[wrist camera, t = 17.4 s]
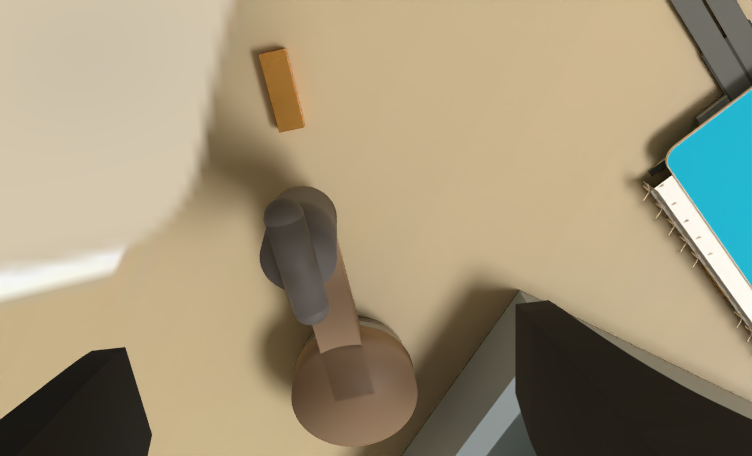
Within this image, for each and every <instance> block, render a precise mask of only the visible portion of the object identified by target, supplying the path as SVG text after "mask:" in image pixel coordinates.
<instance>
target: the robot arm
mask: <svg viewBox="0 0 752 456" xmlns="http://www.w3.org/2000/svg"><path fill="white" fill-rule="evenodd" d="M515 394H516V397H517V401H518V404H519V407H520V410H521V414H522V417H523V420H524V423H525V426H526V429H527V433H528V436H529V439H530V442H531V444H532V446H533V448H534V451H535V453H536V455H537V456H752V419H750V418H748V417H746V416H743V415H741V414H739V413H737V412H735V411H733V410H731V409H729V408H727V407H725V406H722V405H720V404H718V403H716V402H714V401H712V400H710V399H708V398H706V397H704V396H702V395H700V394H698V393H696V392H694V391H692V390H690V389H688V388H686V387H685V386H683V385H681V384H679V383H677V382H676V381H674V380H672V379H670V378H669V377H667V376H665V375H663V374H662V373H660V372H658V371H656V370H655V369H653V368H651V367H649V366H648V365H646V364H645V363H643V362H641V361H640V360H638V359H636V358H635V357H633V356H631V355H630V354H628V353H627V352H625V351H624V350H622V349H620V348H619V347H617V346H616V345H614V344H613V343H611V342H610V341H608V340H607V339H605V338H604V337H602V336H601V335H599V334H598V333H596V332H595V331H593V330H592V329H590V328H589V327H587V326H586V325H585V324H583V323H582V322H580V321H579V320H577V319H576V318H574V317H573V316H571V315H570V314H568V313H567V312H566V311H564V310H563V309H561V308H560V307H558V306H557V305H555V304H553V303H552V302H550V301H548V300H546V301H537V302H528V303H519V304H515ZM151 437H152V433H151V430H150V427H149V423H148V420H147V417H146V413H145V410H144V407H143V404H142V400H141V397H140V394H139V391H138V387H137V384H136V381H135V378H134V374H133V371H132V368H131V365H130V361H129V358H128V355H127V352H126V348H125V347H123V348H114V349H105V350H96V351H91V352H89V353H88V354H86V355H85V356H83V357H82V358H80V359H79V360H77V361H76V362H75V363H73V364H72V365H71V366H69V367H68V368H66V369H65V370H64V371H63V372H61V373H60V374H59V375H57V376H56V377H55V378H53V379H52V380H51V381H49V382H48V383H47V384H46V385H44V386H43V387H42V388H41V389H39V390H38V391H37V392H35V393H34V394H33V395H31V396H30V397H29V398H28V399H26V400H25V401H24V402H22V403H21V404H20V405H19V406H17V407H16V408H15V409H13V410H12V411H11V412H9V413H8V414H7V415H6V416H4V417H3V418H2V419H0V456H147V455H148V451H149V446H150V442H151Z"/></svg>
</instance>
